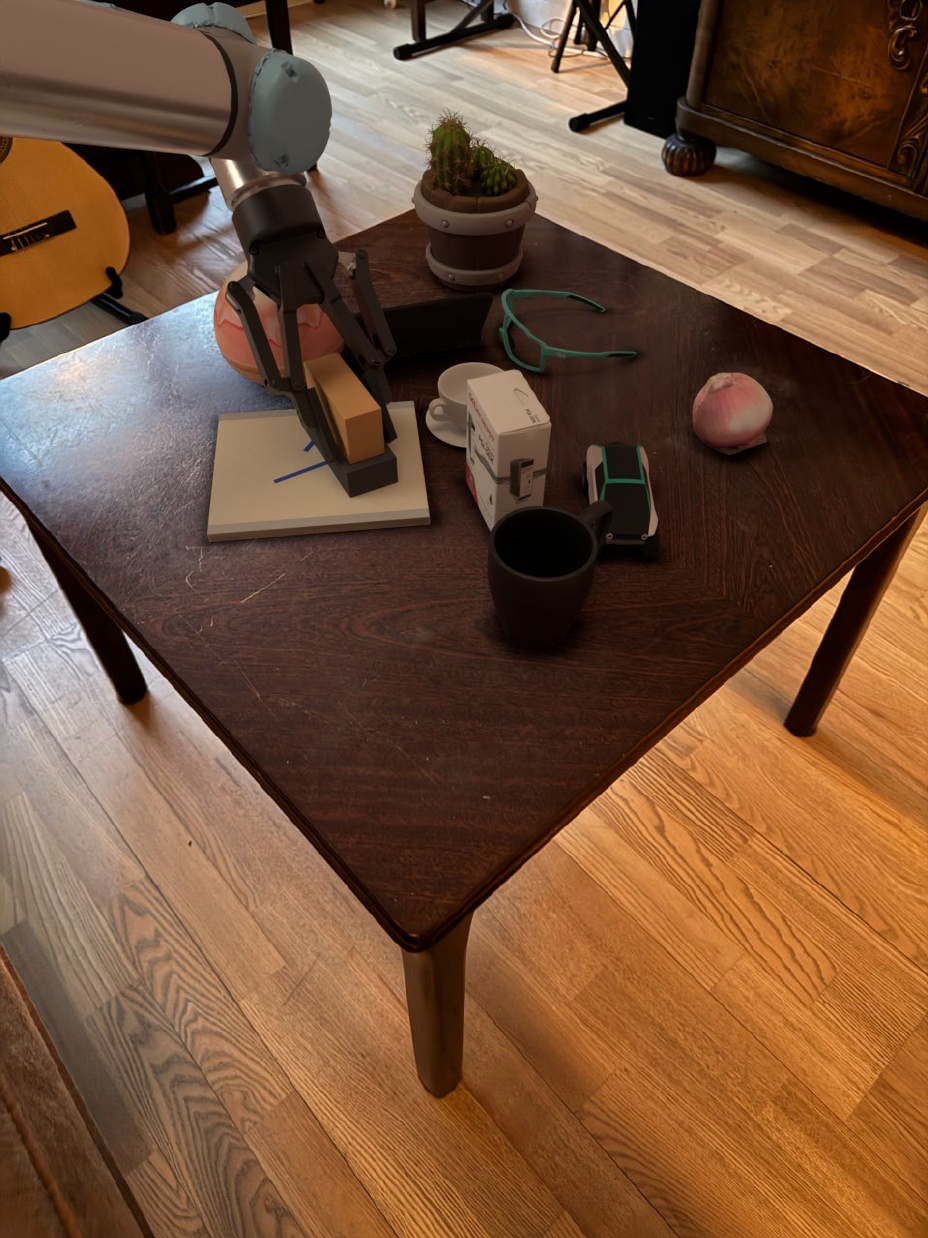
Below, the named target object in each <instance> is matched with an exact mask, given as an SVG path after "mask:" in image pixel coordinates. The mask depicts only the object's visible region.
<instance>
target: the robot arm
mask: <svg viewBox="0 0 928 1238" xmlns="http://www.w3.org/2000/svg"><path fill="white" fill-rule="evenodd" d="M332 117H333V105H332V98H331V95H330V90H329V87H328V84H327V82H326V80H325V78H324V76H323V75H322V73H321V71H319V70H318V68H316V66H315V65H314V64H313V63H311V62H310V61H309V60H306V59H304V58H301V57H299V56H296V55H293V54H291V53H288V52H287V51H286V50H283V49H280V48H276V47H272V48H271V47H270V48H269V47H266V46H263V45H258V44H257V41H256V39H255V37H254V34H253V32H252V30H251V27H250V24H249V23H248V21H247V19H246V18H245V16H244V15H243V14H242V13H241V12H240V11H239V10H238V9H237V8H235V7H233V6H232V5H230V4H227V3H223V2H217V1H216V2H214V3H212V4H210V5H207V4H206V3H204V2H201V3H196V4H193V5H191V6H189V7H186V8H185V9H183V10H181V11H180V12H179V13H177V14H176V15H175V16H174V17H173V18H172V19H171V20H170V21H168V20H164V19H162V18H161V19H160V18H156V17H153V16H149V15H145V14H141V13H138V12H135V11H132V10H128V9H125V8H123V7H120V6H119V7H118V6H116V4H113V3H108V2H107V1H103V2H98V1H95V0H0V137H5V138H7V137H8V138H15V139H16V138H17V139H25V140H34V141H35V140H36V141H46V142H47V141H48V142H55V143H57V142H58V143H65V144H66V143H67V144H68V143H69V144H78V145H87V146H96V147H97V146H99V147H109V148H116V149H117V148H119V149H128V150H140V151H151V152H160V153H170V154H180V155H192V156H196V157H200V158H206V159H208V161H209V163H210V166H211V168H212V170H213V173H214V176H215V178H216V181H217V184H218V186H219V189H220V190H219V191H220V193H221V196H222V198H223V201H224V203H225V206H226V208H227V209H228V211H230V212H232V215H231V222H232V225H233V227H234V230H235V233H236V235H237V238H238V240H239V243H240V246H241V249H242V252H243V254H244V257H245V260H246V259H247V264H248V268H247V275H245V276H244V277H243V278H241V279H240V280H238V281H230V282H229V283H228V285H227V289H226V293H225V299H226V301H227V302H228V303H229V305H230V306H231V307H232V308H233V310H234V311H235V312H236V313H237V315H238V316H239V318H240V321H241V323H242V326H243V329H244V332H245V334H246V337H247V340H248V343H249V345H250V348H251V351H252V353H253V356H254V359H255V362H256V364H257V367H258V370H259V372H260V375H261V378H262V381H263V383H264V386H265V387H264V386H263V387H264V388H265V391H266V393H267V394H268V395H269V396H272V397H274V396H285V397H288V399H290V400H291V403H292V404H293V407H294V409H295V410H296V412H297V415H298V418H299V420H300V423H301V426H302V427H303V428H304V429H305V430H309V429H312V428H314V430H315V433H316V435H317V438H318V441H319V443H320V446H321V449H322V451H323V454H324V457H325V459H326V462H327V464H328V463H332V462H335V461H336V460H337V459H338V458H340V457H341V456H340V453H339V450H338V448H337V445H336V442H335V440H334V437H333V434H332V432H331V429H330V426H329V424H328V421H327V418H326V416H325V413H324V410H323V408H322V405H321V402H320V400H319V397H318V394H317V392H316V389H315V387H313V388H309V389H308V388H307V389H306V387H305V382H304V373H303V365H302V356H301V348H300V339H299V330H298V322H297V309H298V308H300V307H301V306H303V305H305V304H318V306H319V307H320V309H321V310H322V311H323V312H324V313H326V315H327V316H328V317H329V319H330V320H331V322H332V324H333V325H334V327H335V328H336V330H337V331H338V333H339V334H340V336H341V337H342V339H343V340H344V342H345V343H346V345H347V346H348V348H349V349H350V351H351V352H352V354H353V355H354V357H355V358H356V360H357V361H358V363H359V364H360V366H359V367H361V369H362V371H363V372H364V373H362V374H361V376H360V377H359V378H358V379H359V380H360V382H361V383H362V384H363V386H364V387H365V388H366V390H367V391H368V392H369V393H370V395H371V396H372V397H373V399H374V400H375V401H376V403H377V404H378V405H379V406H380V408H381V413H382V426H383V438H384V441H385V442H386V444H389V443H391V442H392V441H394V440H395V439H397V438H398V437H397V434H396V431H395V429H394V426H393V423H392V420H391V418H390V415H389V412H388V409H387V407H386V405H389V404H390V403H391V402H393V393H392V390H391V388H390V385H389V382H388V378H387V376H386V374H385V371H384V365H385V364H386V363H388V362H389V361H391V360H390V359H391V358H392V357H393V356H394V355H395V353H396V351H397V348H396V345H395V342H394V340H393V337H392V334H391V332H390V329H389V326H388V324H387V321H386V318H385V316H384V313H383V310H382V305H381V303H380V300H379V297H378V295H377V292H376V289H375V286H374V284H373V281H372V278H371V276H370V263H369V262H370V261H369V254H368V252H367V250H365V249H363V248H359V249H357V250H356V251H355V252H349V251H348V252H347V251H339V250H338V248H337V246H335V244H333V243H332V241H331V240H330V238H329V237H328V235H327V233H326V229H325V226H324V223H323V221H322V218H321V215H320V212H319V209H318V208H317V204H316V202H315V201H316V200H315V199H314V196H313V192H312V191H311V190H310V189H308V188H307V187H306V186H307V184H308V179H307V176H306V174H305V172H306V171H308V170H310V169H311V168H312V167H313V166H315V165H316V164H317V162H318V161H319V160H320V158H321V157H322V155H323V153H324V152H325V150H326V147H327V145H328V142H329V139H330V136H331V131H330V128H331V126H332V122H331V121H332ZM338 267H339V268H340V269H341V270H342V273H343V275H344V277H345V278H346V279H349V280H350V281H349V282H350V286H351V289H352V290H351V291H352V293H353V296H354V298H355V301H356V303H357V306H358V310H359V312H361V314H362V317H363V320H364V322H365V325H366V327H367V330H368V333H369V335H370V338H371V341H372V343H373V345H372V344H371V342H370V341H369V339H368V338H367V336H366V335H365V333H364V332H363V330H362V329H361V327H360V326H359V324H358V323H357V321H356V319H355V318H354V316H353V315H352V314H353V313H352V311H351V310H350V309H349V307H348V306H347V304H346V302H345V300H344V299H343V298H342V294H341V292H340V289H339V288H338V287H337V285H336V283H335V282H334V279H335V274H336V271H337V268H338ZM253 287H255V288H257V289H258V290H259V291H261V292H262V293H263V294H265V295H266V296H267V297H269V298H270V299H271V300H273V301H274V302H275V303H276V309H277V317H278V322H279V326H280V334H281V343H282V351H283V360H284V368H285V376H286V378H282V377H281V375H280V372H279V369H278V366H277V364H276V361H275V358H274V355H273V353H272V350H271V347H270V344H269V342H268V339H267V336H266V333H265V331H264V328H263V325H262V322H261V320H260V317H259V314H258V311H257V309H256V307H255V304H254V303H253V302H254V299H255V293H254V291H253ZM373 346H374V347H373Z"/></svg>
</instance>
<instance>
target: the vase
mask: <svg viewBox="0 0 928 1238" xmlns="http://www.w3.org/2000/svg"><path fill="white" fill-rule="evenodd" d="M247 268H248V264H247V259H246V258H245V259H244V261H243V262H241V263H240V264H238V265H237V266H236V268H234V269H233V270H232V271H231V272H230V273H229V275H228V276H227V278H226V279H224V281H223V283H222V285H221V287H220V288H219V291H218V293H217V295H216V299H215V302H214V307H213V314H212V315H213V317H212V319H213V320H212V321H213V323H212V324H213V334H214V338H215V341H216V344H217V347H218V349H219V352H220V354H221V355H222V357H223V358H224V360H225V361H226V363H227V364H228V365H229V366H230V367H231V368H232V369H233V370H234V371H235V372H236V373H237V374H239V375H240V376H241V377H243V378H245V379H246V380H248V381H250V382H252V383H253V384H254V383H255V384H257V385H260V386H262V387H264V388H265V386H264V383H263V381H262V378H261V375H260V372H259V370H258V367H257V364H256V362H255V359H254V356H253V353H252V351H251V348H250V345H249V343H248V340H247V337H246V334H245V332H244V329H243V326H242V323H241V321H240V318H239V316H238V315H237V313H236V312H235V311H234V310H233V308H232V307H231V306H230V305H229V303H228V302H227V301H226V299H225V293H226V289H227V285H228V283H229V282H230V281H238V280H240V279H241V278H243V277H244V276H245V275H247ZM253 291H254V293H255V299H254V302H253V303H254V304H255V307H256V309H257V311H258V314H259V317H260V320H261V322H262V325H263V328H264V331H265V333H266V336H267V339H268V342H269V344H270V347H271V350H272V353H273V355H274V358H275V361H276V364H277V366H278V369H279V372H280V375H281V377H282V378H286V376H285V368H284V360H283V351H282V343H281V334H280V326H279V322H278V317H277V309H276V303H275V302H274V301H273V300H271V299H270V298H269V297H267V296H266V295H265V294H263V293H262V292H261V291H259V290H258V289H257V288H255V287H253ZM297 322H298V330H299V339H300V348H301V356H302V365H303V373H304V382H305V388H306V387H307V381H306V375H305V368H304V362H305V361H309V360H312V359H316V358H319V357H323V356H327V355H330V354H334V353H339V355H340V356H341V354H342V352H343V351H344V350H343V347H344V344H345V342H344V340H343V339H342V337H341V336H340V334H339V333H338V331H337V330H336V328H335V327H334V325H333V324H332V322H331V320H330V319H329V317H328V316H327V315H326V313H324V312H323V311H322V310H321V309H320V307H319V306H318V304H305V305H303V306H301V307H300V308H298V309H297Z"/></svg>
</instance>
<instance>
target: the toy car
mask: <svg viewBox="0 0 928 1238" xmlns="http://www.w3.org/2000/svg"><path fill="white" fill-rule="evenodd" d="M581 468H582V470H581V488H582V491H585V492H588V501H589V505H590V504H592V503H594V502H595V501H598V500H604V501H606V502H608V503H609V504H610V505H611V506H612V509H613V518H612V522H611V525H610V527H609V530H608V532H607V534H606V537H605V539H604V541H603V543H602V545H601V547H600V549H599V551H598V554H597V557H601V555H602V552H603V546H606V545H623V546H624V545H627V546H636V545H638V546H641V548H642V556H643V557H644V558H648V559H653V558H656V557H657V556H658V554H659V549H660V531H659V530H660V529H659V528H658V523H659V518H658V515H657V512H656V508H655V503H654V497H653V492H652V486H651V481H650V475H649V474H650V466H649V459H648V456H647V452H646V450H645V448H644V447H643V445H641V444H629V443H626V442H623V441H610V442H607V443H604V444H598V443H593V444H591V445H590V446H589V447H588V448H587V451H586V460H585V461H583V463H582V467H581ZM593 524H594V522H593V523H592V524H591V525H590V527H591V528H592V527H593Z"/></svg>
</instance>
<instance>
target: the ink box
mask: <svg viewBox="0 0 928 1238" xmlns="http://www.w3.org/2000/svg"><path fill="white" fill-rule="evenodd" d="M503 371H504V372H499V373H493V374H489V375H484V376H479V377H475V378H471V379H468V380H467V448H466V454H465V455H466V456H465V458H466V460H465V482H466V484H467V487H468V489H469V490H470V492H471V494H472V496H473V498H474V500H475V502H476V505H477V507H478V509H479V511H480V513H481V515H482V517H483V519H484V521H485V523H486V526H487V527H488V529H489V531H490V532H491V530H492V528H493V527H494V525H495V524H496V523H497V522H498V520H500V519H501V518H502V517H503V516H505V515H506V514H508V513H510V512H512V511H514V510H517V509H521V508H524V507H531V506H544V496H545V486H546V478H547V467H548V458H549V449H550V439H551V429H552V423H551V417H550V416H549V413H547V411H546V409H545V407H544V406H543V405H542V403H540V401H539V399H538V397H537V395H536V394H535V392H534V391H533V390H532V388H531V387H530V385H529V383H528V381H527V379H526V378H525V377H524V376H523V373H522V372H521V371H520V370H518V369H515V368H514V369H510V370H509V369H508V370H503Z"/></svg>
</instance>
